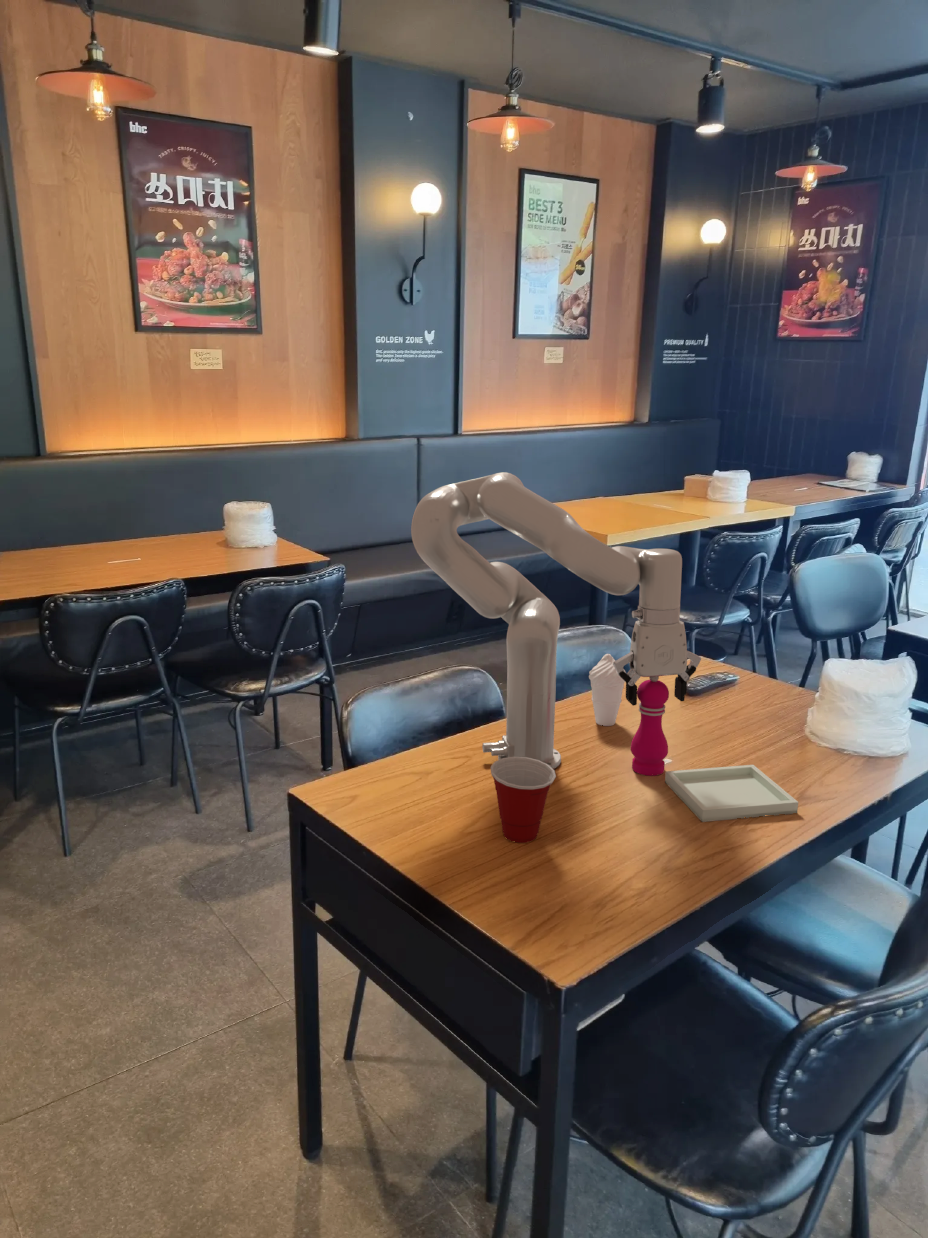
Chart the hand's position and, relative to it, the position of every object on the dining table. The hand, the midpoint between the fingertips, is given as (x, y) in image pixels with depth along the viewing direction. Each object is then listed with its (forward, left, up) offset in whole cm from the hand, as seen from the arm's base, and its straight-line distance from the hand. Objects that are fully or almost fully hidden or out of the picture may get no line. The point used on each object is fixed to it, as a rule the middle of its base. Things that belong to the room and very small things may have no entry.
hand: (655, 701), depth 168 cm
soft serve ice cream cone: (-1, +25, -15) cm, 29 cm away
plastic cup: (-32, -21, -15) cm, 41 cm away
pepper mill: (-1, 0, -15) cm, 15 cm away
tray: (+9, -14, -14) cm, 22 cm away
